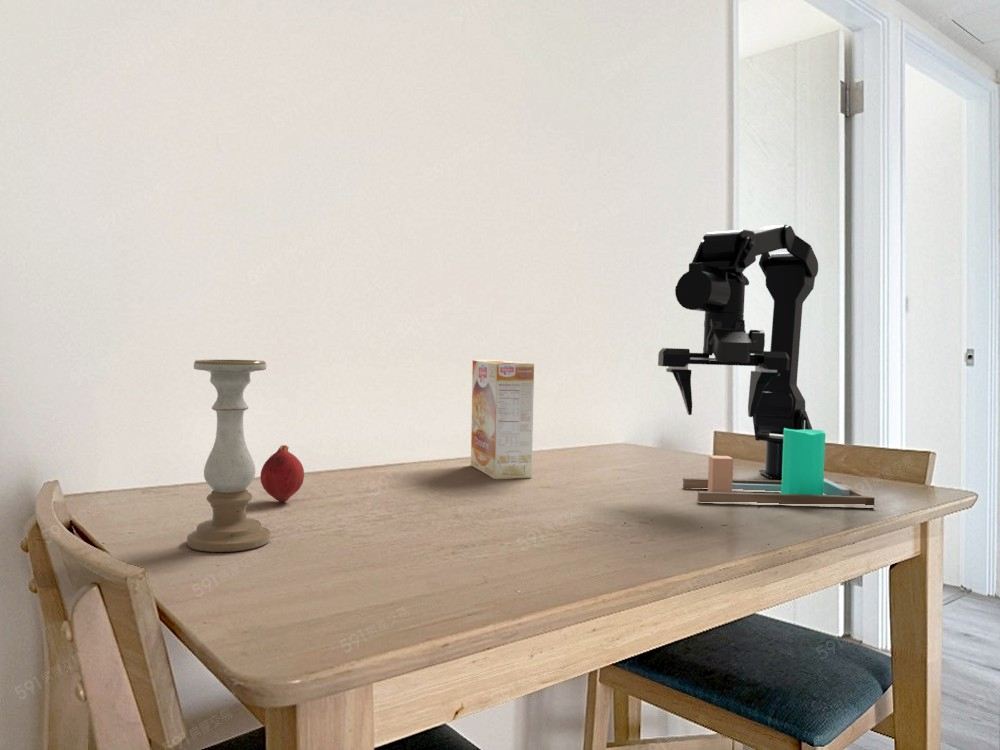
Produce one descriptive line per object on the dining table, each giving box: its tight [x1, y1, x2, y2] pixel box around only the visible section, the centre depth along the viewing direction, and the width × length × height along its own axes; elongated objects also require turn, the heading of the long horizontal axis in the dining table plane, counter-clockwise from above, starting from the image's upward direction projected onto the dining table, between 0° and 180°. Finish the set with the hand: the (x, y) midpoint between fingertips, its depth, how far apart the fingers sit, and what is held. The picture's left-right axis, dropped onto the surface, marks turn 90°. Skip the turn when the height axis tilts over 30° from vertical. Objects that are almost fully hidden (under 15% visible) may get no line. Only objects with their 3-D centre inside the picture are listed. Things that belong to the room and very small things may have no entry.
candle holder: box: [186, 359, 271, 553], centre depth 89 cm, size 9×9×20 cm
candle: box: [780, 420, 826, 495], centre depth 122 cm, size 6×6×12 cm
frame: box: [707, 455, 849, 496], centre depth 122 cm, size 10×19×6 cm, turn 88°
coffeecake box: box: [470, 359, 535, 480], centre depth 140 cm, size 15×7×20 cm, turn 17°
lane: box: [682, 477, 875, 506], centre depth 122 cm, size 13×25×2 cm, turn 88°
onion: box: [260, 444, 305, 503], centre depth 111 cm, size 6×6×8 cm
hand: (720, 415), depth 122 cm, fingers open, 9 cm apart
